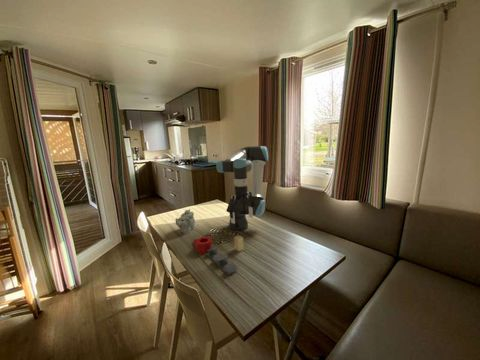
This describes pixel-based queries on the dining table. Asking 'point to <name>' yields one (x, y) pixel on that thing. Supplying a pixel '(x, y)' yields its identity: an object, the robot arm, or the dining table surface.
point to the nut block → (238, 243)
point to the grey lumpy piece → (186, 222)
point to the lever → (203, 244)
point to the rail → (221, 261)
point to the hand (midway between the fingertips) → (242, 219)
